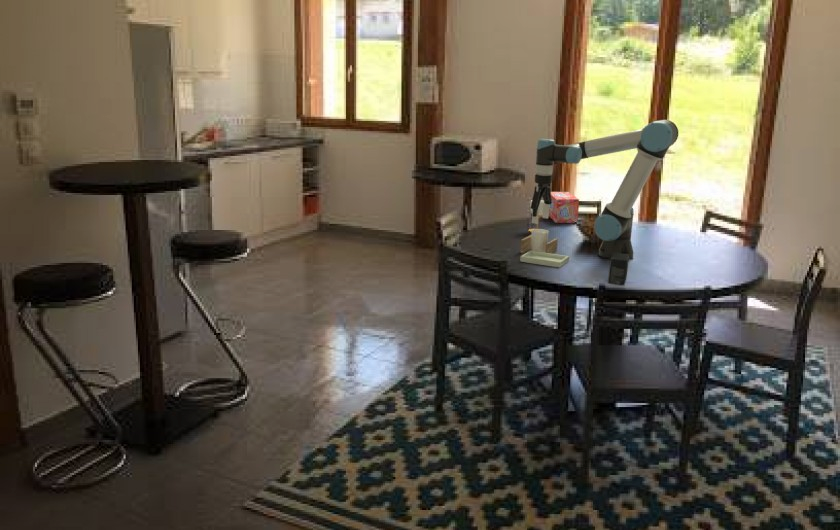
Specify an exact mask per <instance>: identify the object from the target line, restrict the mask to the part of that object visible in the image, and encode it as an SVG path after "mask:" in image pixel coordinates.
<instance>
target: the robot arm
mask: <svg viewBox="0 0 840 530" xmlns="http://www.w3.org/2000/svg"><path fill="white" fill-rule="evenodd" d="M678 138H679V128H678V126H677V125H676V124H675V122H673V121H671V120H669V119H660V120H654V121H651V122H650V123H648V124H646V125H644V126H643V128H641V129H637V130H631V131H626V132H622V133H618V134H617V133H616V134H613V135H608V136H604V137H599V138H594V139H589V140H585V141H581V142H580V141H578V142H574V143H570V144H568V145H565V144H564V145H563V144H556V142H555V140H554V139H552V138H551V139H550V138H540V139H538V141H537V145H536V146H537V147H536V160H535V166H534V168H535V175H534V183H535V184H537V186H534V191H533V196H532V199H531V200H532V204H531V207H530V206H529V208H531V209H533V210H532V213H531V224H536V225H537V224H538V225H539V222H538V215H539V209H538V207H539V204H540V201H541V200H544V203H545V204H543V215H542V217H541V218H543V219H549V218H550V217H549V204H552V202H551V201H552V199H551V192H552V191H551V184H552V180H553V171H554V170H553V169H554V163H564V164H570V165H572V164H575V165H576V164H579V163H580V161H582V160H584V159H589V158H593V157H598V156H603V155H609V154H615V153H620V152H624V151H628V150H629V151H631V150H635V149H636V150H637V153H636V155H635V157H634V159H633V160H632V162H631V164H630V167H628V170H627V172H626V174H625V176H624V177H623V179H622V181H621V184H620V185H619V187H618V189H617V191H616V193H615V194H614V197H613V198H612V201H611V202H609V203H606V204H605V206H604V208H603V211H601V214H600V215H598V217H597V218H596V219H595V221H594V223H593V230H594V233H595V235H596V236H597V237H598V238H599V239H601V240H602V242H601V244H600V246H599V249H598V256H600V257H601V258H605V259H610V260H611V257H612V255H613V253H614V252H615V253H622V254H629V260H631V259H633V257H634V248H633V245H632V240H631V239H632V229H633V223H634V222H633V221H634V215H635V214H634V207H633V206H634V205H635V203H636V201H637V199H638V198H639V196H640V194H641V192H642V190H643V189H644V186H645V184H646V182H647V181H648V179H649V177H650V176H651V174H652V172H653V170H654V169H655V166H656V164H657V163H658V161H661V160H663V159H664V158H665V156H666V154H667V152H668V151H669V148H670V147H671V146H673V145H674V144H675V143H676V142H677V140H678ZM531 209H530V210H531Z"/></svg>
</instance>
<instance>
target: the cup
mask: <svg viewBox="0 0 840 530" xmlns="http://www.w3.org/2000/svg"><path fill="white" fill-rule="evenodd" d="M529 202H530V203H529V208H530V207H531V204H532V199H531V200H530V201H529ZM543 204H545V203H544V200H543V199H541V201H540V204H539V207H538V209H539V215H538V224H536V228H535V229H539V222H540V221H539V220H540V218H542V215H543ZM532 210H533V209H531V208H530V213H531V214H532ZM533 229H534V228H529V229H528V232H529V231H530V232H529V233H531V230H533Z"/></svg>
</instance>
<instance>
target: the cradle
mask: <svg viewBox="0 0 840 530" xmlns="http://www.w3.org/2000/svg"><path fill="white" fill-rule="evenodd" d="M558 240H559V238H556V237H555V238H553V239H552V240H550V241H548V242H547V243H546V253H551V254H555V253H556V252H557V251H558V242H559V241H558ZM531 248H532V246H531V234H529V235H528V236H525V237H524V238H522V239H521V240H520V253H521V254H525V252H526V253H527V252H528V251H530V249H531Z"/></svg>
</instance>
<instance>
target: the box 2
mask: <svg viewBox="0 0 840 530" xmlns="http://www.w3.org/2000/svg"><path fill="white" fill-rule="evenodd" d="M629 261H630V259H629V254H622V253H615V252H614V253H613V255H612V257H611V259H610V262H609V270H608V277H607V279H608V280H607V284H610V285H617V286H625V283H626V280H627V278H628V271H629V270H628V269H629V263H630V262H629Z"/></svg>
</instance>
